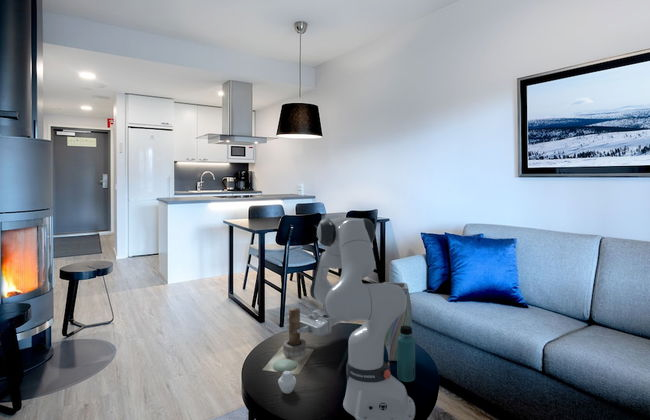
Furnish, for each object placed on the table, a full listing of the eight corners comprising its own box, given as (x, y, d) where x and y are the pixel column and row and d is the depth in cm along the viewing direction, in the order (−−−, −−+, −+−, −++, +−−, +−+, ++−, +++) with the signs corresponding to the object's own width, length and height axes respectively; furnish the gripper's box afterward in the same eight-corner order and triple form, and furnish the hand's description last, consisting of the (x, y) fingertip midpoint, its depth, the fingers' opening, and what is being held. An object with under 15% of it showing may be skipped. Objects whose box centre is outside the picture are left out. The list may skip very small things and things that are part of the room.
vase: (413, 366, 146) (414, 290, 144) (378, 364, 147) (378, 289, 145) (409, 351, 159) (410, 281, 157) (377, 349, 161) (378, 280, 159)
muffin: (289, 384, 133) (288, 365, 132) (300, 391, 128) (299, 371, 128) (274, 390, 128) (274, 370, 128) (285, 398, 124) (285, 377, 123)
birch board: (314, 352, 158) (314, 339, 158) (298, 378, 137) (298, 363, 136) (282, 349, 161) (282, 336, 161) (262, 373, 140) (262, 359, 140)
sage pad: (299, 361, 146) (299, 360, 146) (292, 372, 138) (292, 371, 138) (277, 359, 149) (277, 358, 148) (269, 370, 140) (269, 368, 140)
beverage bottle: (415, 387, 131) (416, 331, 129) (396, 385, 132) (396, 329, 131) (414, 378, 137) (415, 324, 136) (396, 376, 138) (397, 322, 137)
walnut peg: (301, 350, 156) (301, 308, 155) (298, 355, 152) (297, 311, 151) (291, 349, 157) (290, 307, 156) (287, 354, 153) (287, 310, 152)
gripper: (300, 308, 170) (276, 315, 160) (334, 318, 156) (310, 327, 146) (300, 321, 171) (276, 330, 161) (334, 333, 157) (310, 343, 147)
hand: (292, 329), depth 153 cm, fingers closed on walnut peg, 4 cm apart
